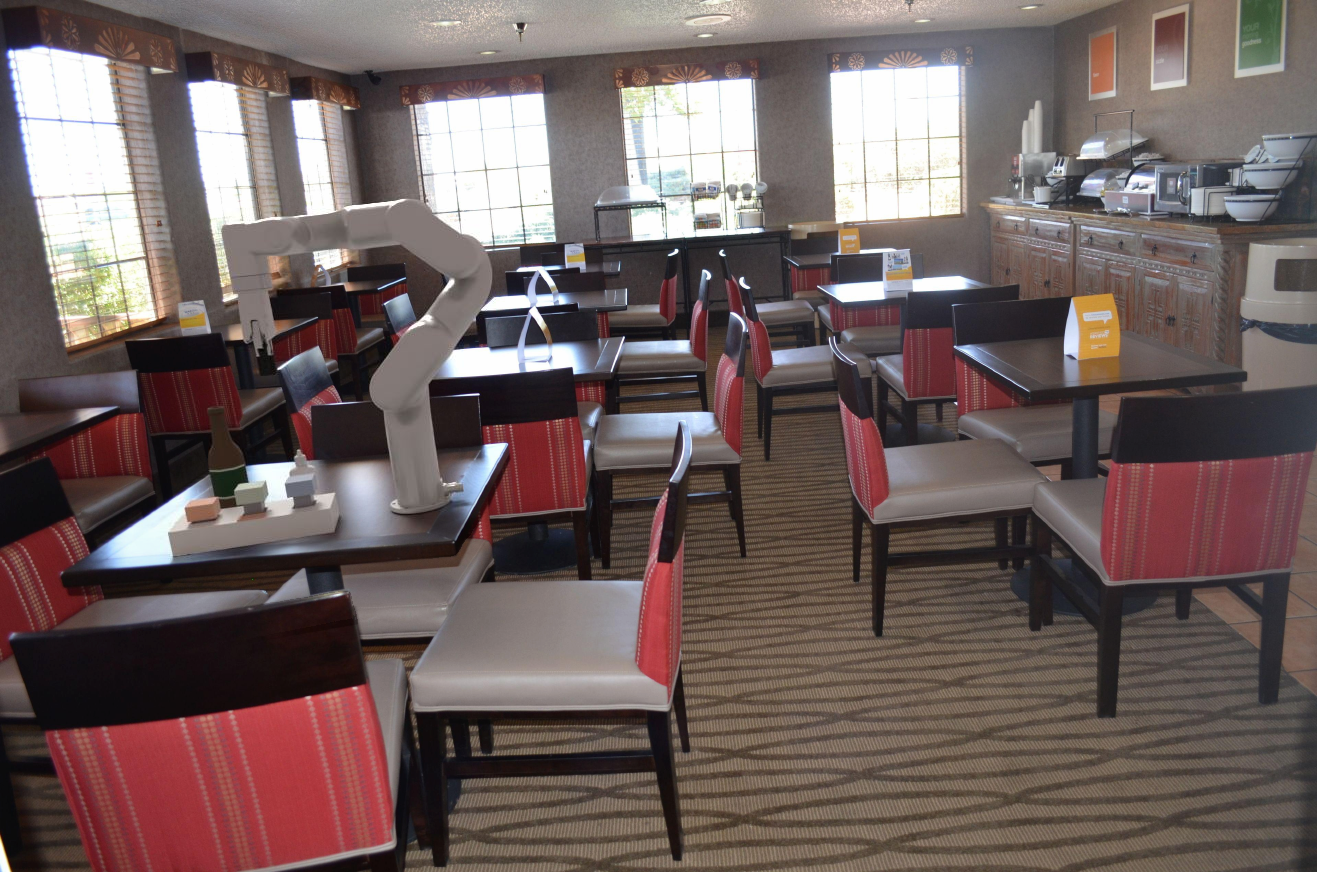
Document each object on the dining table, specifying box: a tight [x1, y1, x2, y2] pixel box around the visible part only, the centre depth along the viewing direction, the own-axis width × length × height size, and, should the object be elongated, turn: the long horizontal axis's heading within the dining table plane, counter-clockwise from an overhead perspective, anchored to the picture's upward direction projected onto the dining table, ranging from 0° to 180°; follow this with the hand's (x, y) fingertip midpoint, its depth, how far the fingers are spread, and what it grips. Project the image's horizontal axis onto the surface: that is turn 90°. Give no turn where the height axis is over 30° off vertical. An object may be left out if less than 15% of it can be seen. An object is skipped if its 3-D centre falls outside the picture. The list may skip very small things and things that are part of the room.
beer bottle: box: [206, 405, 250, 509], centre depth 208 cm, size 8×8×24 cm
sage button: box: [234, 480, 269, 515], centre depth 192 cm, size 5×5×8 cm
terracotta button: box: [184, 496, 221, 524], centre depth 190 cm, size 5×5×8 cm
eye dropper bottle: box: [288, 449, 321, 496], centre depth 213 cm, size 4×6×12 cm
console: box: [167, 492, 340, 557], centre depth 193 cm, size 30×12×5 cm, turn 103°
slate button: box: [284, 473, 317, 509], centre depth 194 cm, size 5×5×8 cm
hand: (268, 374), depth 195 cm, fingers closed
